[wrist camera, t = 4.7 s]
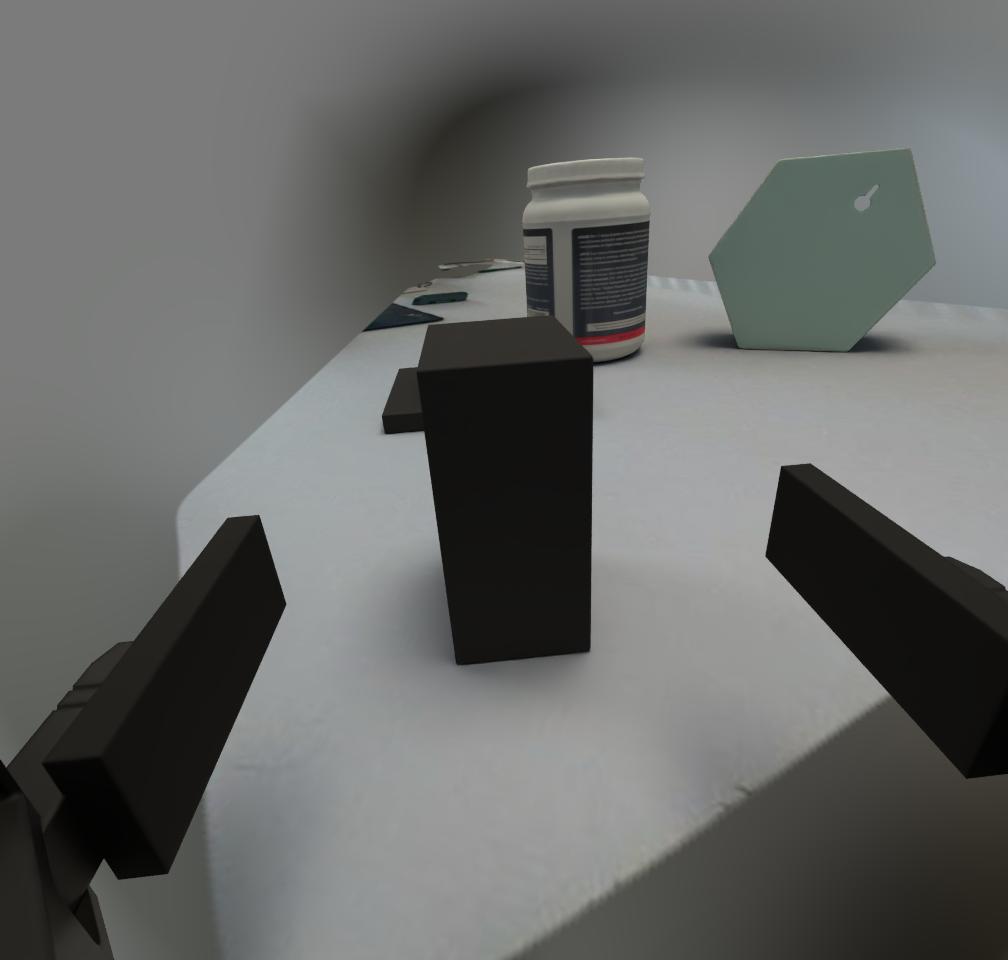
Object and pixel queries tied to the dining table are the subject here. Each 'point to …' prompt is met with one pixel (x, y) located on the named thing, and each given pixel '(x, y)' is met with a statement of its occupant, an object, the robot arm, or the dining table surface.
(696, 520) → the dining table surface
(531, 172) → the supplement tub
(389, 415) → the base pad
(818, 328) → the green hexagonal block
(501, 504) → the tall dark brick
